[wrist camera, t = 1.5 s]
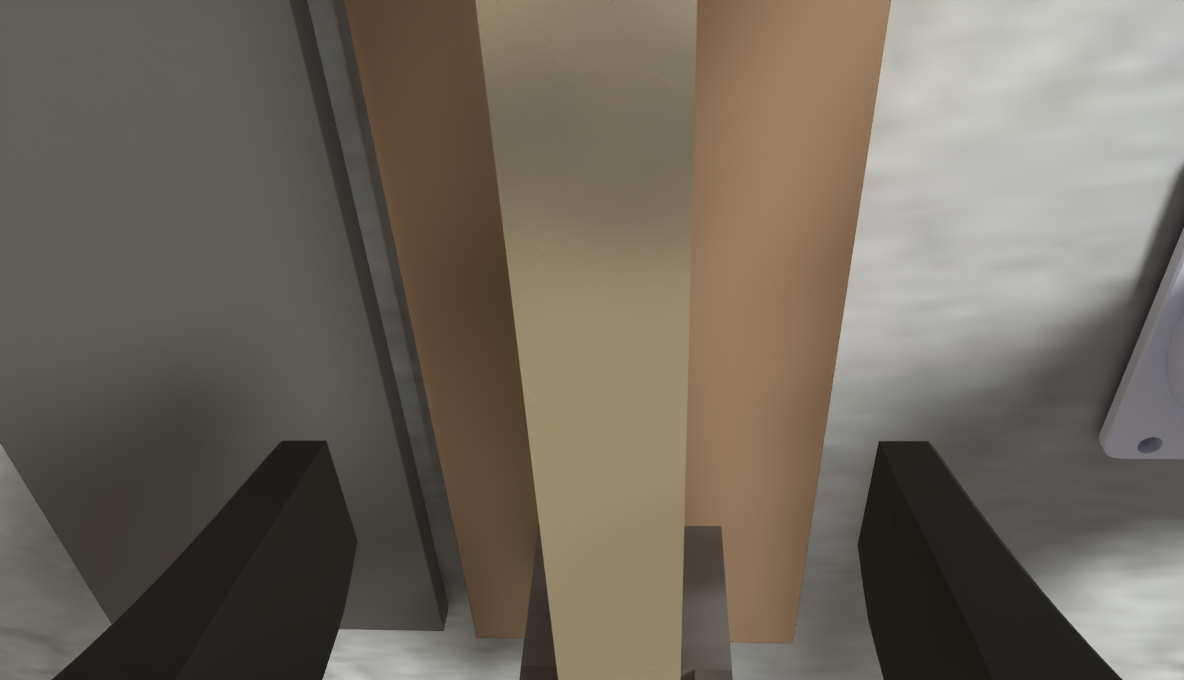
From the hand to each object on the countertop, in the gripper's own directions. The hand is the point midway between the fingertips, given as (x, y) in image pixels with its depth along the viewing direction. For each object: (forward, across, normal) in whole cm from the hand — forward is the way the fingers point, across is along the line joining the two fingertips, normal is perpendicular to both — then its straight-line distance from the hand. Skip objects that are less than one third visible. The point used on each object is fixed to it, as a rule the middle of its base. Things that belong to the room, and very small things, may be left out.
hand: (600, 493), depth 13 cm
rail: (+3, 0, 0) cm, 3 cm away
